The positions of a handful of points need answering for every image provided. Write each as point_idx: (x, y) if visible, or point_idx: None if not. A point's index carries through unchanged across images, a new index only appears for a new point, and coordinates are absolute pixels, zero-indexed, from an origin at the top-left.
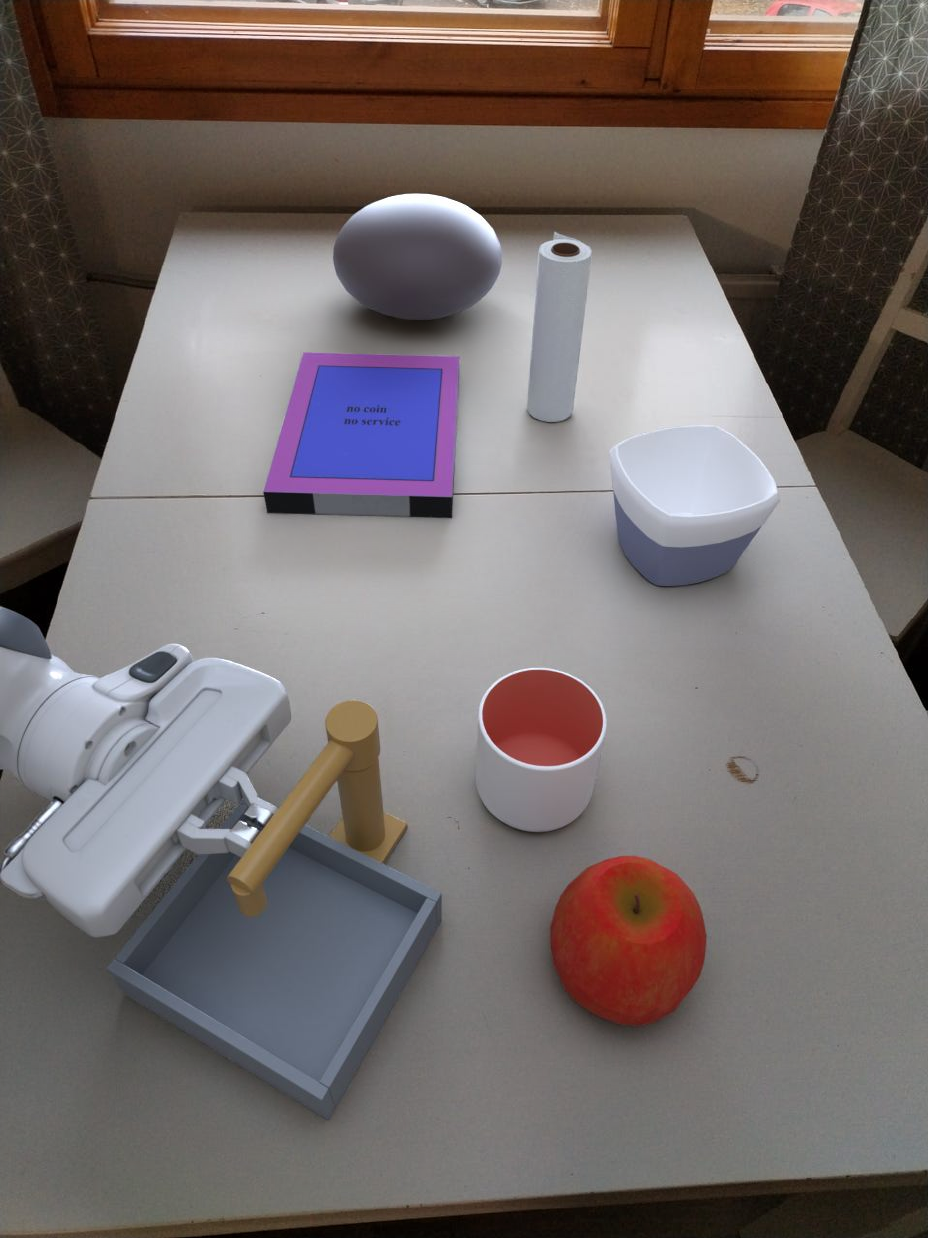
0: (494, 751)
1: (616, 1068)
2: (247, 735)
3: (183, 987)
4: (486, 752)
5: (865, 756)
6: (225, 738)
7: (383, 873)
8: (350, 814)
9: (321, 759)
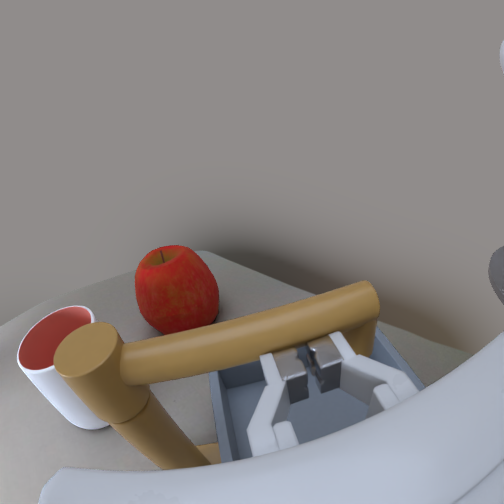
0: None
1: (233, 297)
2: (173, 470)
3: None
4: None
5: (59, 304)
6: (210, 501)
7: (220, 401)
8: (188, 443)
9: (154, 347)
